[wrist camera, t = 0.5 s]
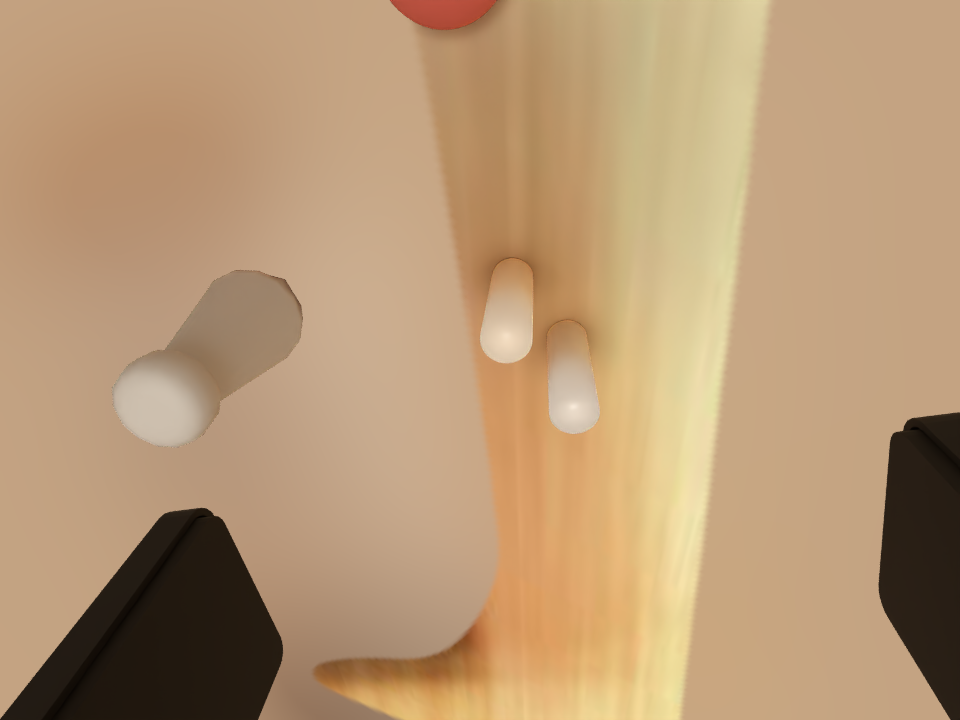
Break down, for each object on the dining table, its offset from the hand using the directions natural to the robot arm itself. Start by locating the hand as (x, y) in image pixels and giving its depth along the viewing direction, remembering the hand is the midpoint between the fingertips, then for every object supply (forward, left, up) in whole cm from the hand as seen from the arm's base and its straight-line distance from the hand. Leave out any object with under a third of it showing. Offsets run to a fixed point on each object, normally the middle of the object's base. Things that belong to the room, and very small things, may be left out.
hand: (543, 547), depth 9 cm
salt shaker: (+4, -17, -28) cm, 33 cm away
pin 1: (+5, -2, -28) cm, 29 cm away
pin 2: (+10, 0, -28) cm, 30 cm away
